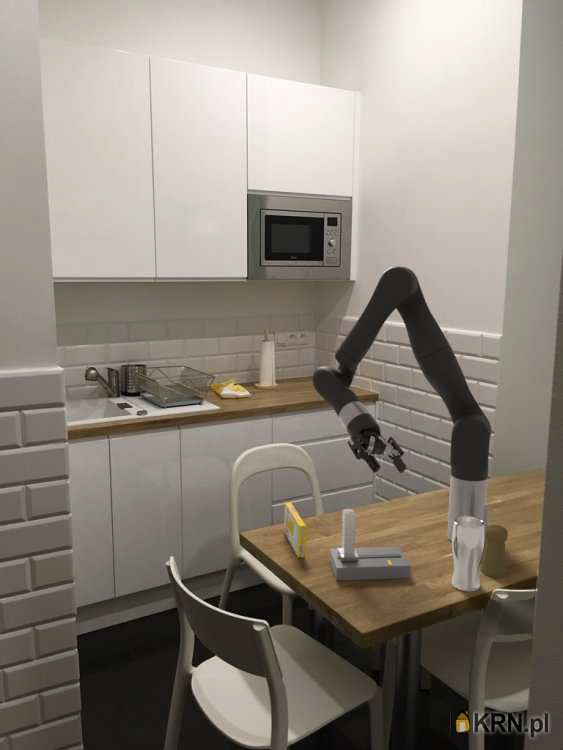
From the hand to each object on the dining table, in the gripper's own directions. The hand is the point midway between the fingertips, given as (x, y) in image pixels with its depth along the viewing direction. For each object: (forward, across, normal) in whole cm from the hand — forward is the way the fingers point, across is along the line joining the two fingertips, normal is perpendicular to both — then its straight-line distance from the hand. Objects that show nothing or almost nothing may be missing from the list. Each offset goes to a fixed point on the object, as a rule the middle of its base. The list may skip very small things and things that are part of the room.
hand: (390, 470), depth 152 cm
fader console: (+14, -4, +19) cm, 24 cm away
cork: (+26, +20, +7) cm, 33 cm away
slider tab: (+10, -8, +18) cm, 22 cm away
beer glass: (+28, +10, +8) cm, 30 cm away
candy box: (-3, -10, +31) cm, 33 cm away
